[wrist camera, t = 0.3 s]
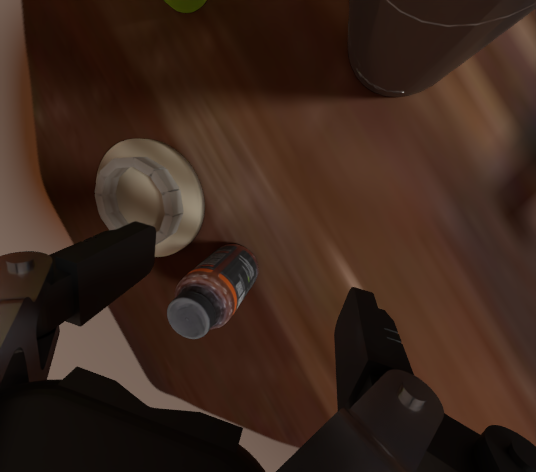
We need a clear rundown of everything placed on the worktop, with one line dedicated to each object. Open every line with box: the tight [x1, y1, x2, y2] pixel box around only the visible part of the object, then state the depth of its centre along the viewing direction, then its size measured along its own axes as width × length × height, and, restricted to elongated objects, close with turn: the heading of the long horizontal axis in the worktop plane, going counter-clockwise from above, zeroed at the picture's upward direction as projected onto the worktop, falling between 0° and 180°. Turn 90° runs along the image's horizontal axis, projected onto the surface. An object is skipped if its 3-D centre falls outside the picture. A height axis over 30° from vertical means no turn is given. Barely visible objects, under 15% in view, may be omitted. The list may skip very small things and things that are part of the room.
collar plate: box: [94, 139, 205, 257], centre depth 31 cm, size 14×14×4 cm
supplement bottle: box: [167, 244, 258, 339], centre depth 27 cm, size 6×6×11 cm
